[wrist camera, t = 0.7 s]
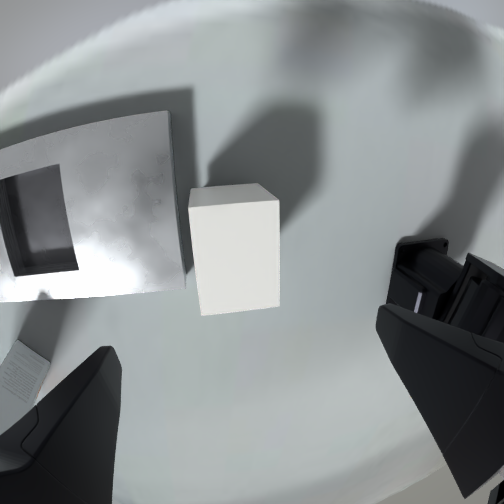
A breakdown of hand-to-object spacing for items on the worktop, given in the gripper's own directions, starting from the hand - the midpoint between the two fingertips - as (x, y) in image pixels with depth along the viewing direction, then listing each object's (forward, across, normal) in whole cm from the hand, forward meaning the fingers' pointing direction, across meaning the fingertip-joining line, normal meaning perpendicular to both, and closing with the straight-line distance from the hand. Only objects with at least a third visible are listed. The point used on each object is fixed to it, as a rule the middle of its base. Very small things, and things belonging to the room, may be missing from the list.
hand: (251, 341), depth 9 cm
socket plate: (+12, +11, -3) cm, 16 cm away
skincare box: (+12, +21, +11) cm, 27 cm away
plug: (+12, 0, 0) cm, 12 cm away
